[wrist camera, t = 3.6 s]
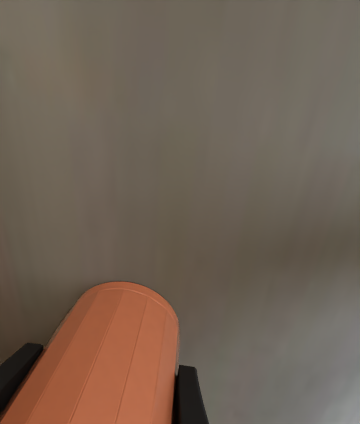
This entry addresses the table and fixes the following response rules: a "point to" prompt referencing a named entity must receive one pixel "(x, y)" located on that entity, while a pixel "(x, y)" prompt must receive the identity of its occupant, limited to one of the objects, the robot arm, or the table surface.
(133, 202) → the table surface
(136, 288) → the cup
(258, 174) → the table surface
